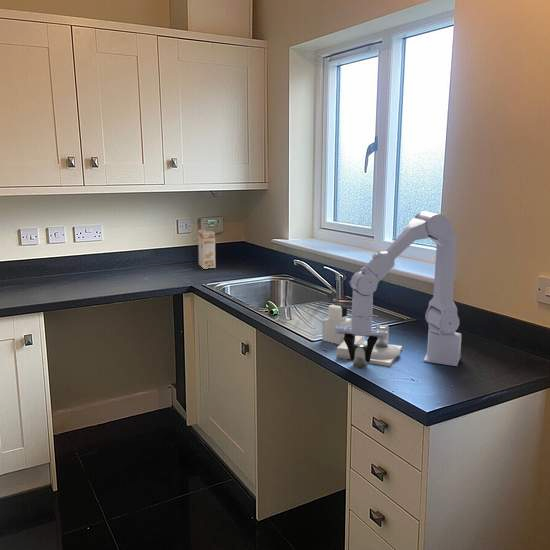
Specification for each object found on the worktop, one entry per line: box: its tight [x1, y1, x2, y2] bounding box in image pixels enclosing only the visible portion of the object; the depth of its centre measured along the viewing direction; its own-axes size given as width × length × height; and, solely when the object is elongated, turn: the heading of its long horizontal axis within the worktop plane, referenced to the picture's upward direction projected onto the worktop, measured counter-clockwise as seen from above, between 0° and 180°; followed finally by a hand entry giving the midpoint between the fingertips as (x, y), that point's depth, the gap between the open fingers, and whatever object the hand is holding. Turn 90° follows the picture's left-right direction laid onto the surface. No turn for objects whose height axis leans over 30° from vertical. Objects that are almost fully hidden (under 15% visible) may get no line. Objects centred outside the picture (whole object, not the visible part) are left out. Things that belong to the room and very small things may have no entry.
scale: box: [336, 336, 403, 367], centre depth 170 cm, size 17×16×4 cm
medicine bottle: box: [321, 303, 352, 346], centre depth 182 cm, size 7×7×12 cm
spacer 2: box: [375, 324, 390, 348], centre depth 172 cm, size 4×4×6 cm
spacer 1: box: [352, 343, 368, 369], centre depth 160 cm, size 4×4×6 cm
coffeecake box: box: [197, 228, 217, 270], centre depth 298 cm, size 15×7×20 cm, turn 16°
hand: (360, 360), depth 161 cm, fingers closed on spacer 1, 4 cm apart
